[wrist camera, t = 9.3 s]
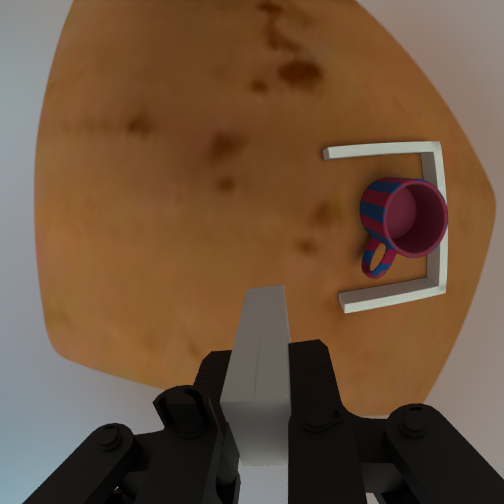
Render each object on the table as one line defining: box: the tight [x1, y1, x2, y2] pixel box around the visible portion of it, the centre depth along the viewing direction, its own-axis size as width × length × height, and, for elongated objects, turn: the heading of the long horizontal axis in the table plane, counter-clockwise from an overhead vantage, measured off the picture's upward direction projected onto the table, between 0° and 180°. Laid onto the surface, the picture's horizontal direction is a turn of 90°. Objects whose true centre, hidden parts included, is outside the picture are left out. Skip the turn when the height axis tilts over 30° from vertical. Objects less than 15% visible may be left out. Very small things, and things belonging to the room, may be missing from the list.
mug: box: [360, 178, 448, 279], centre depth 25 cm, size 7×10×7 cm
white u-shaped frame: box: [323, 142, 448, 313], centre depth 27 cm, size 16×12×3 cm
